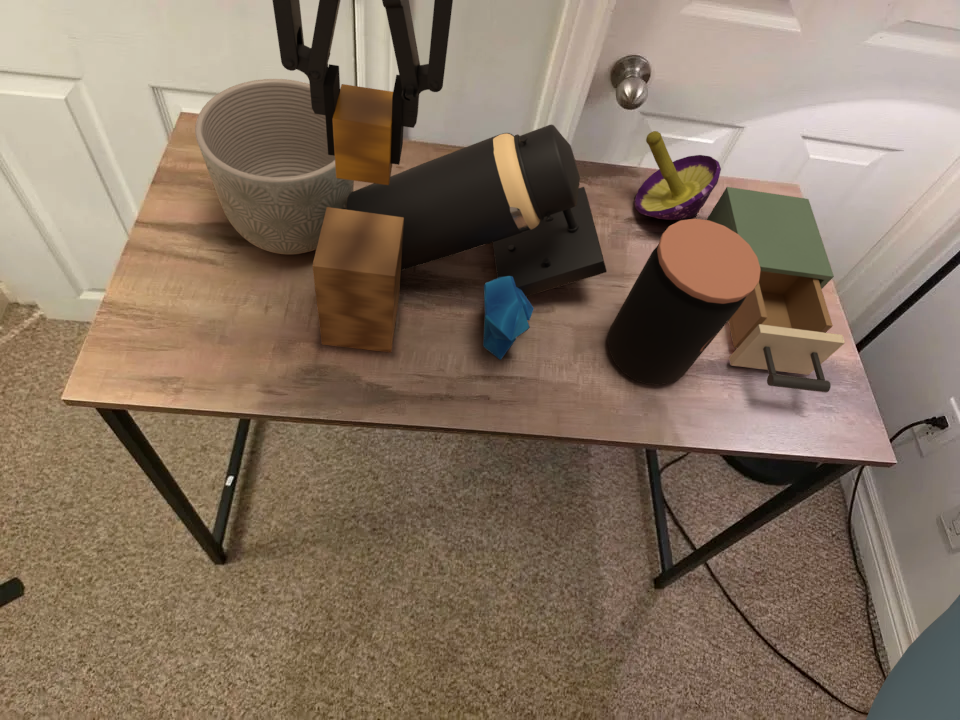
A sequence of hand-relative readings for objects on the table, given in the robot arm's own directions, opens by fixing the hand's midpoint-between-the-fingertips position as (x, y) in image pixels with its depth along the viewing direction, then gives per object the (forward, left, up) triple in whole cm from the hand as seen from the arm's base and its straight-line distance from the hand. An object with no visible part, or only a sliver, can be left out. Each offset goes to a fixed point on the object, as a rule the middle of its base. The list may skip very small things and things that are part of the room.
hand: (366, 148), depth 54 cm
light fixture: (0, -16, -26) cm, 30 cm away
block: (0, 0, -2) cm, 2 cm away
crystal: (-10, -11, -25) cm, 29 cm away
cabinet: (-24, -47, -26) cm, 59 cm away
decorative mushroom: (-4, -44, -14) cm, 46 cm away
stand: (+1, 0, -26) cm, 26 cm away
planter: (+18, -2, -26) cm, 32 cm away
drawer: (-33, -38, -25) cm, 56 cm away
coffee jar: (-24, -25, -26) cm, 43 cm away
